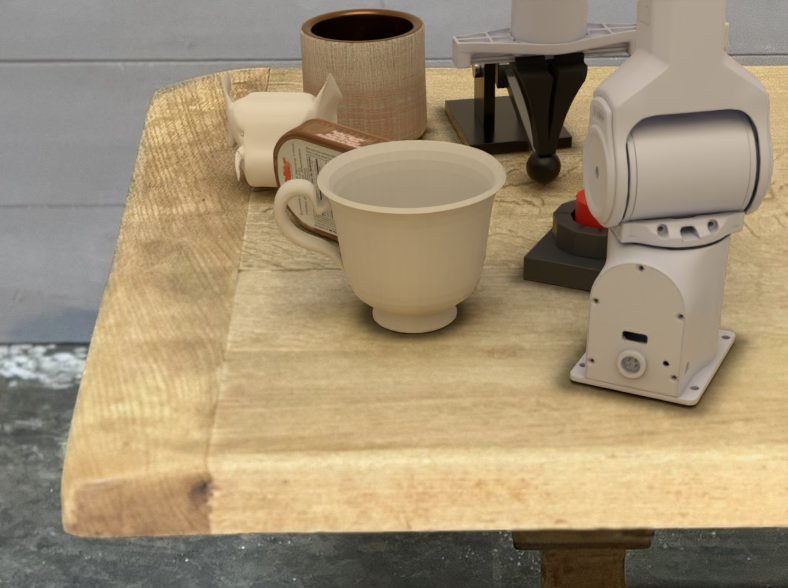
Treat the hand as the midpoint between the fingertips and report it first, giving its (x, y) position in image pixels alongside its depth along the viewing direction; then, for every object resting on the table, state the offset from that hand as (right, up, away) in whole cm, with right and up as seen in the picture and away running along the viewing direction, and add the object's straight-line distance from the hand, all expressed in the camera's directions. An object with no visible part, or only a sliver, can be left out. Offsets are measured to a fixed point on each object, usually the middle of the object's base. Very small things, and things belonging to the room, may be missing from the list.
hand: (544, 150), depth 106 cm
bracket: (-2, +5, +13) cm, 14 cm away
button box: (+3, -11, -10) cm, 15 cm away
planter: (-14, +5, +13) cm, 20 cm away
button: (+3, -8, -12) cm, 15 cm away
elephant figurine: (-21, -2, +4) cm, 22 cm away
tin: (-15, -9, -6) cm, 18 cm away
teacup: (-12, -16, -16) cm, 25 cm away
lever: (-1, +4, +6) cm, 7 cm away
